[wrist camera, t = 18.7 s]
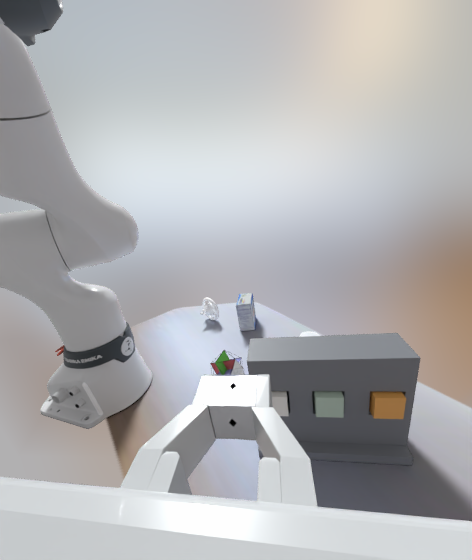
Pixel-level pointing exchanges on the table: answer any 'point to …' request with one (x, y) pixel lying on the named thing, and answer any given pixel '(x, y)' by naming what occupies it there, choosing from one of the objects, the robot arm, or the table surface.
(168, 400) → the table surface
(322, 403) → the button sage
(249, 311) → the medicine box
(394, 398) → the button orange
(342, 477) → the table surface
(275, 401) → the button offwhite
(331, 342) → the button panel
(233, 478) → the table surface
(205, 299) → the white irregular piece
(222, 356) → the geometric puzzle
